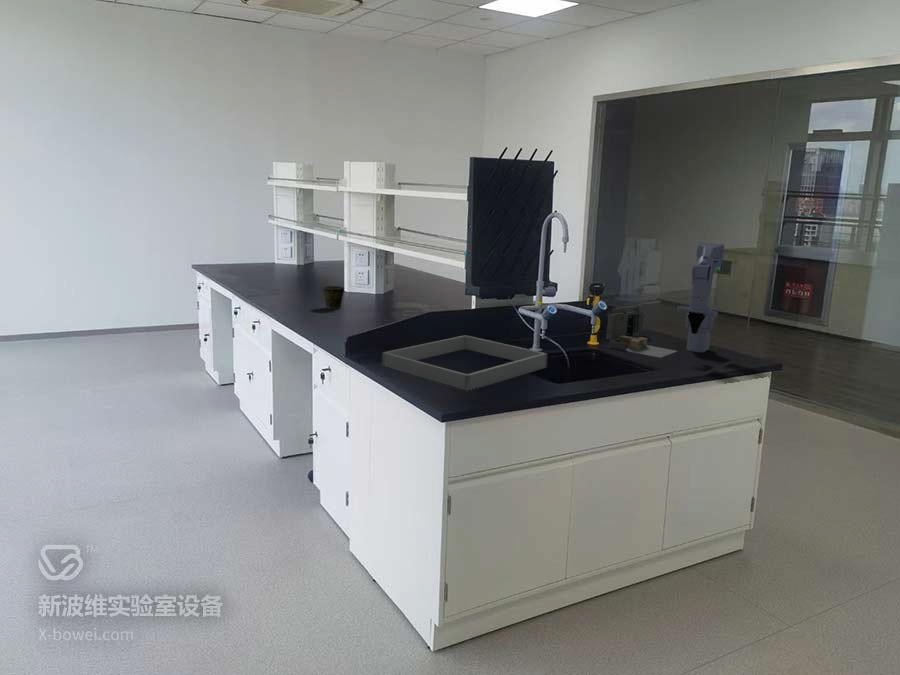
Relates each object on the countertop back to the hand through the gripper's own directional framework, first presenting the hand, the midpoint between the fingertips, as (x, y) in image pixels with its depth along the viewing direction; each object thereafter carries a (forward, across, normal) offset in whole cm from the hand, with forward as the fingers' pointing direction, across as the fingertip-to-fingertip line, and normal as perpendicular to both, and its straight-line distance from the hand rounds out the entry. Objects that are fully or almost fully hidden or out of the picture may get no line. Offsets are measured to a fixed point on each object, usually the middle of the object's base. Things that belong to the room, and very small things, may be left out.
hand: (694, 333), depth 261 cm
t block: (+9, -24, -1) cm, 26 cm away
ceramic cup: (+10, -161, -40) cm, 166 cm away
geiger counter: (+10, -36, +18) cm, 42 cm away
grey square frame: (+11, -49, -74) cm, 89 cm away
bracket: (+9, -26, -2) cm, 28 cm away
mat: (+10, -19, -2) cm, 22 cm away
